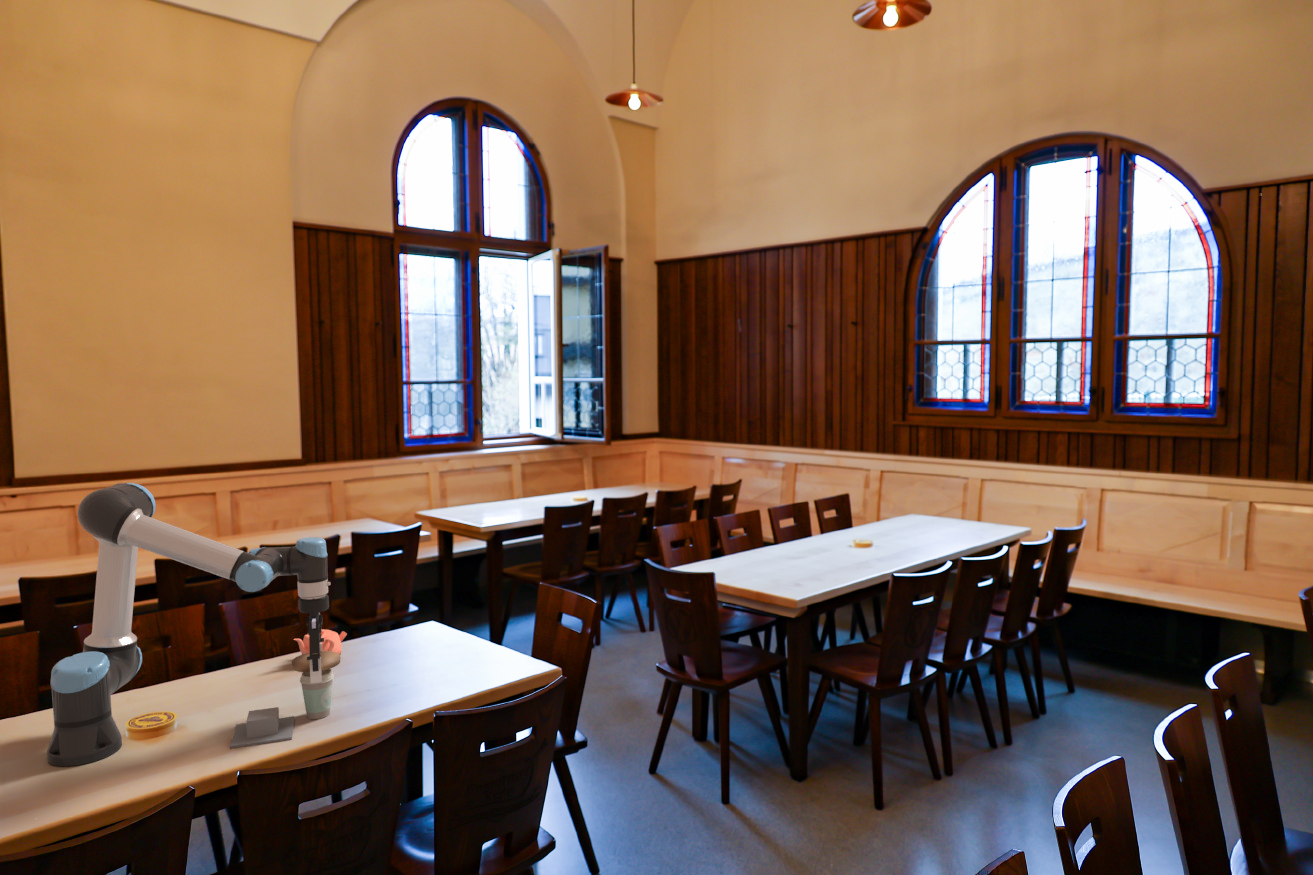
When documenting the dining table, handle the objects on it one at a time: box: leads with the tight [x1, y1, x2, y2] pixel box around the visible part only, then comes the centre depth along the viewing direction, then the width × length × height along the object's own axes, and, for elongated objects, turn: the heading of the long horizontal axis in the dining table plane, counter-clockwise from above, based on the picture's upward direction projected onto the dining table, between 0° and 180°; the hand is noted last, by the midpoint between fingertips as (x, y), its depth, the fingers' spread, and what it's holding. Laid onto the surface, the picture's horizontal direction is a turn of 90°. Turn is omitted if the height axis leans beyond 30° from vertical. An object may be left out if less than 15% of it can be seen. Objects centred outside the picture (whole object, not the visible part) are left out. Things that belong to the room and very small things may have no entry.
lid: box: [291, 651, 341, 673], centre depth 225 cm, size 12×12×3 cm
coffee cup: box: [299, 668, 335, 720], centre depth 226 cm, size 9×8×12 cm
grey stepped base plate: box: [229, 706, 295, 750], centre depth 215 cm, size 14×14×5 cm
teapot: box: [293, 629, 348, 656], centre depth 269 cm, size 14×12×10 cm
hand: (316, 674), depth 225 cm, fingers closed on lid, 12 cm apart
